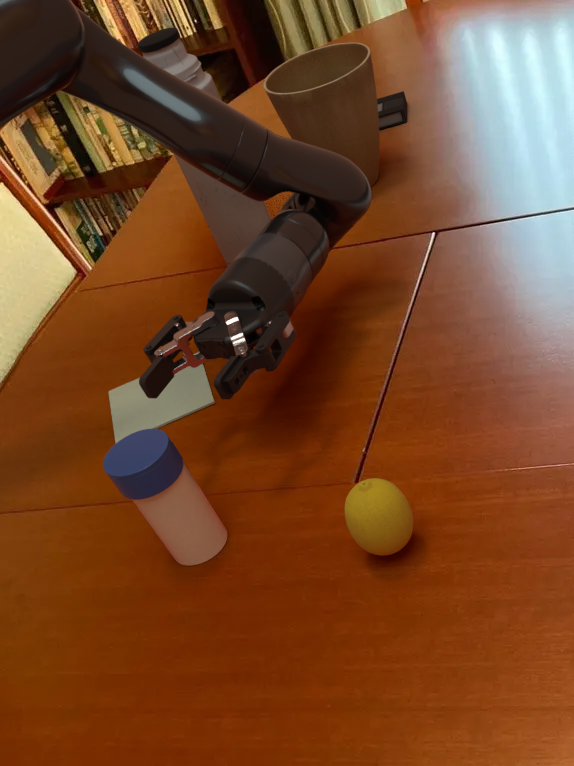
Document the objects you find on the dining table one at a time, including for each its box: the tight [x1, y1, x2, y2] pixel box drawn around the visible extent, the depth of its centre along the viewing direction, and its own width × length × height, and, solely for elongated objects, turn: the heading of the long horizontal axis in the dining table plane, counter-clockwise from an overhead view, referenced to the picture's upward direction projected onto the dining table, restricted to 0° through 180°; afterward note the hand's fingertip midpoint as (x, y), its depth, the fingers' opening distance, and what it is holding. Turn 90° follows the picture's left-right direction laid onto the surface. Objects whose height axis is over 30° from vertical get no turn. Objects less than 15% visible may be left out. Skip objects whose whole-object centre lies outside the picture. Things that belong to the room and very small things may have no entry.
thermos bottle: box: [137, 26, 272, 267], centre depth 110 cm, size 8×8×28 cm
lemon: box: [343, 477, 414, 556], centre depth 74 cm, size 6×6×8 cm
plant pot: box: [262, 41, 380, 187], centre depth 122 cm, size 15×15×16 cm
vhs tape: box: [377, 91, 408, 131], centre depth 141 cm, size 8×14×2 cm, turn 91°
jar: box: [131, 460, 228, 567], centre depth 80 cm, size 6×6×12 cm
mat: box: [108, 351, 216, 444], centre depth 103 cm, size 12×12×1 cm
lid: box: [102, 428, 184, 500], centre depth 76 cm, size 6×6×3 cm
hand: (182, 391), depth 80 cm, fingers open, 8 cm apart
